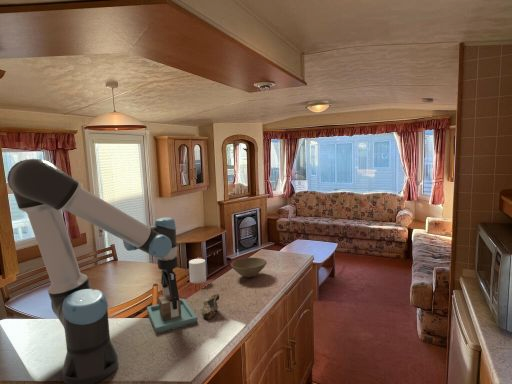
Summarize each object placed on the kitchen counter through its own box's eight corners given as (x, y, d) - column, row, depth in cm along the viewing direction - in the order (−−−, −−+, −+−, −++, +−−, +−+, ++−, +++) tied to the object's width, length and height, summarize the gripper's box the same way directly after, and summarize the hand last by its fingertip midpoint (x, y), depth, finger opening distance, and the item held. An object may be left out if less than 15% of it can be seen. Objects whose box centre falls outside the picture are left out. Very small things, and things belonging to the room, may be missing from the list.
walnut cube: (181, 316, 131) (180, 299, 130) (163, 321, 128) (162, 303, 127) (177, 309, 137) (175, 293, 136) (159, 313, 134) (158, 297, 133)
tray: (197, 322, 128) (197, 317, 127) (156, 333, 121) (155, 327, 120) (183, 303, 145) (183, 298, 144) (147, 311, 138) (146, 306, 137)
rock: (226, 314, 130) (224, 291, 138) (211, 311, 127) (209, 288, 134) (215, 324, 135) (212, 301, 142) (199, 322, 131) (198, 298, 138)
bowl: (233, 270, 183) (233, 256, 182) (267, 270, 183) (266, 256, 182) (229, 283, 165) (229, 268, 164) (267, 283, 164) (266, 267, 163)
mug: (192, 264, 164) (183, 258, 174) (193, 284, 165) (185, 277, 175) (207, 261, 168) (198, 255, 178) (208, 281, 169) (199, 274, 179)
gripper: (185, 264, 121) (188, 320, 123) (169, 248, 143) (172, 295, 145) (164, 268, 117) (168, 325, 120) (151, 251, 139) (155, 299, 142)
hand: (170, 309), depth 132 cm, fingers open, 13 cm apart
